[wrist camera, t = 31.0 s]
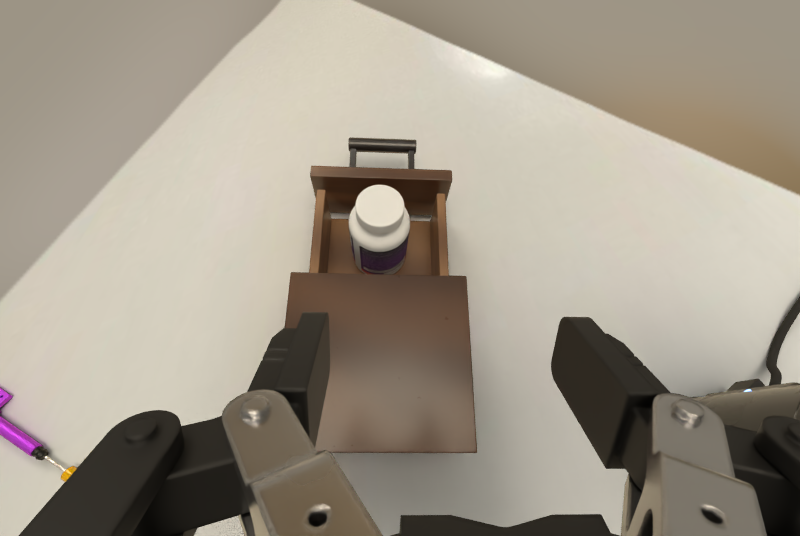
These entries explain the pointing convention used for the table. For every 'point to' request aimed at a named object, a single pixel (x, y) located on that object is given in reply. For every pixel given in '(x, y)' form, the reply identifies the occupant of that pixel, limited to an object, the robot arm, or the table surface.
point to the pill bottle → (379, 230)
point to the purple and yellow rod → (27, 440)
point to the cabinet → (392, 361)
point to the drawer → (420, 197)
